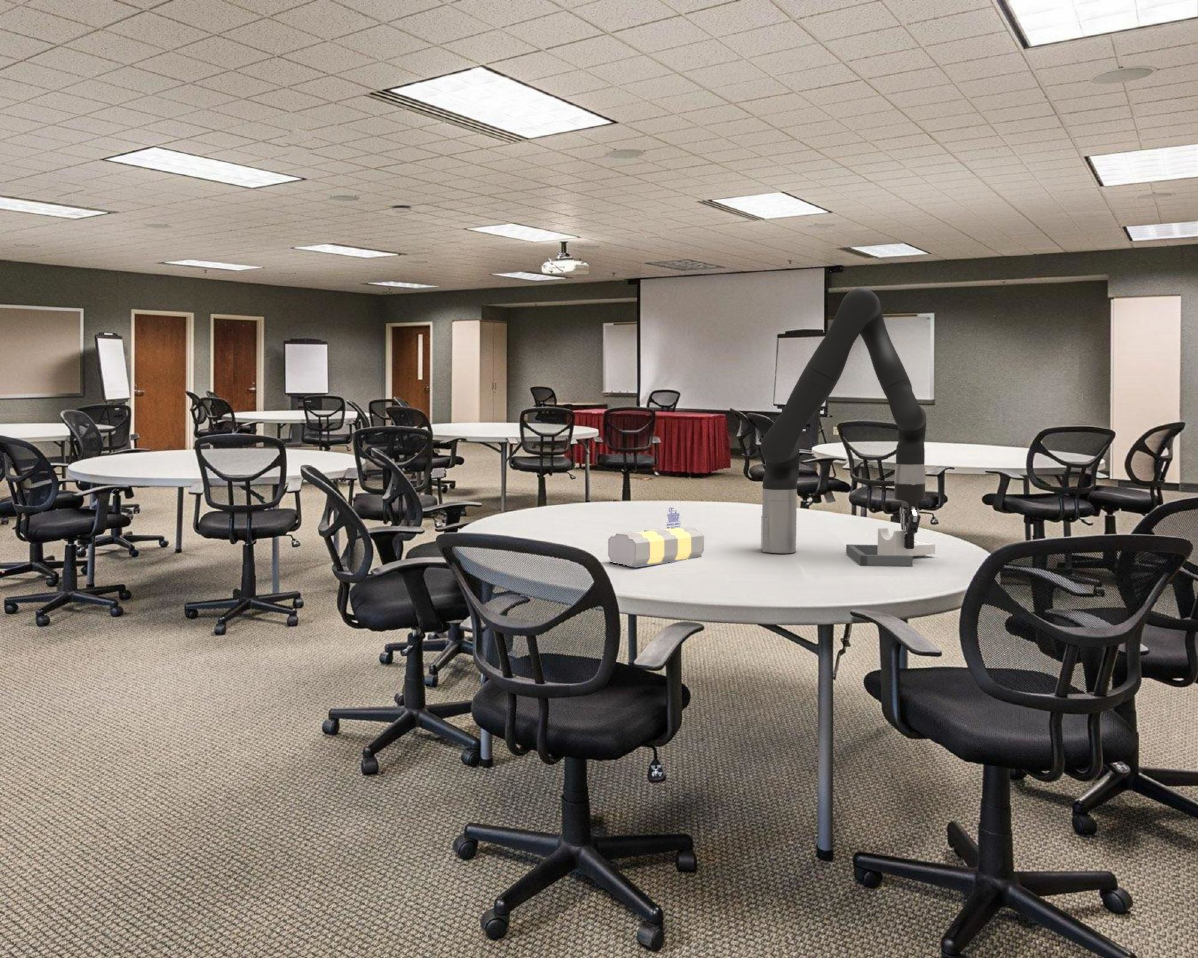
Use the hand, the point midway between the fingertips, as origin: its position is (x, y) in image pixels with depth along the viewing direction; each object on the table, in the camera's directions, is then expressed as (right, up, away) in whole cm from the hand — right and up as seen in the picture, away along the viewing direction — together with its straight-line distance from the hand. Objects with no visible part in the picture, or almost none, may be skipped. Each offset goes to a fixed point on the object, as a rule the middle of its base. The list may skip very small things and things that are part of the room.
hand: (909, 548), depth 234 cm
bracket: (+1, -3, +6) cm, 7 cm away
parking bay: (-7, -3, +1) cm, 8 cm away
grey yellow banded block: (-65, -3, +3) cm, 65 cm away
